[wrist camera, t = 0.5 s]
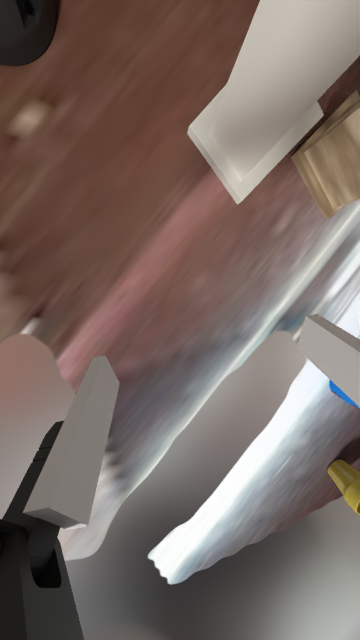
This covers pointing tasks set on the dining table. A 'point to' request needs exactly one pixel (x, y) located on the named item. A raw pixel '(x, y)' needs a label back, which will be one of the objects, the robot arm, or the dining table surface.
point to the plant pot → (347, 482)
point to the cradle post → (276, 87)
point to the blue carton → (342, 395)
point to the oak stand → (333, 159)
